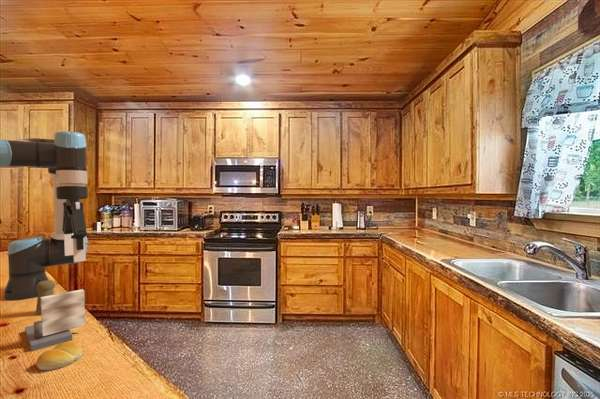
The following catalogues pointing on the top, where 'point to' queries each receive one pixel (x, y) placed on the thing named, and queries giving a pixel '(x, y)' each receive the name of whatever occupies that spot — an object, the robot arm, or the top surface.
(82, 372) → the top surface
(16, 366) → the top surface
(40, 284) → the olive mushroom
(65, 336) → the board
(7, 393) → the top surface
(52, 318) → the gate
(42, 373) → the top surface
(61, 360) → the bread roll
